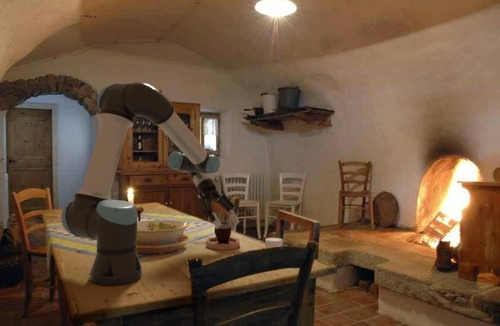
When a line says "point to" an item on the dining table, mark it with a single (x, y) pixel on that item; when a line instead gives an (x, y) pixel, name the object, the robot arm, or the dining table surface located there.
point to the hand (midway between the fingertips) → (228, 225)
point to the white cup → (273, 242)
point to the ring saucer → (222, 244)
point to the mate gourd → (223, 231)
